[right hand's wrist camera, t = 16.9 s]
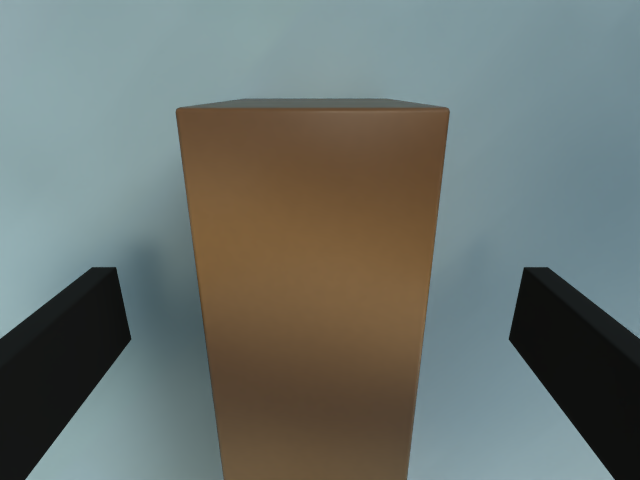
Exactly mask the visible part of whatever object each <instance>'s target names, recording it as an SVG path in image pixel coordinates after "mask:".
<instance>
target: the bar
mask: <svg viewBox="0 0 640 480" xmlns="http://www.w3.org/2000/svg"><path fill="white" fill-rule="evenodd" d="M449 114H450V111H449V109H448V108H446V107H440V106H433V105H426V104H419V103H412V102H405V101H398V100H391V99H240V100H232V101H225V102H217V103H210V104H202V105H195V106H187V107H180V108H177V109H176V119H177V126H178V134H179V142H180V149H181V157H182V165H183V172H184V180H185V187H186V195H187V203H188V210H189V218H190V226H191V233H192V241H193V249H194V256H195V264H196V272H197V279H198V287H199V294H200V302H201V310H202V317H203V325H204V333H205V340H206V348H207V356H208V363H209V371H210V379H211V386H212V394H213V401H214V409H215V417H216V424H217V432H218V440H219V447H220V455H221V463H222V470H223V478H224V480H407V474H408V466H409V457H410V449H411V440H412V431H413V423H414V414H415V406H416V397H417V389H418V380H419V371H420V363H421V354H422V346H423V337H424V329H425V320H426V311H427V303H428V294H429V286H430V277H431V268H432V260H433V251H434V243H435V234H436V226H437V217H438V208H439V200H440V191H441V183H442V174H443V166H444V157H445V148H446V140H447V131H448V123H449Z"/></svg>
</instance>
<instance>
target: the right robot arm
mask: <svg viewBox="0 0 640 480" xmlns="http://www.w3.org/2000/svg"><path fill="white" fill-rule="evenodd" d="M130 340H131V335H130V331H129V326H128V321H127V317H126V312H125V307H124V303H123V298H122V293H121V288H120V284H119V279H118V274H117V270H116V267H92V268H91V269H89V270H88V271H87V272H86V273H84V274H83V275H82V276H80V277H79V278H78V279H77V280H75V281H74V282H73V283H71V284H70V285H69V286H68V287H66V288H65V289H64V290H62V291H61V292H60V293H59V294H57V295H56V296H55V297H53V298H52V299H51V300H50V301H48V302H47V303H46V304H44V305H43V306H42V307H41V308H39V309H38V310H37V311H35V312H34V313H33V314H32V315H30V316H29V317H28V318H27V319H25V320H24V321H23V322H21V323H20V324H19V325H18V326H16V327H15V328H14V329H12V330H11V331H10V332H9V333H7V334H6V335H5V336H3V337H2V338H1V339H0V480H25V479H26V478H27V477H28V475H29V474H30V473H31V471H32V470H33V469H34V467H35V466H36V465H37V463H38V462H39V461H40V459H41V458H42V457H43V455H44V454H45V453H46V451H47V450H48V449H49V447H50V446H51V445H52V443H53V442H54V441H55V440H56V438H57V437H58V436H59V434H60V433H61V432H62V430H63V429H64V428H65V426H66V425H67V424H68V422H69V421H70V420H71V418H72V417H73V416H74V414H75V413H76V412H77V410H78V409H79V408H80V406H81V405H82V404H83V402H84V401H85V400H86V399H87V397H88V396H89V395H90V393H91V392H92V391H93V389H94V388H95V387H96V385H97V384H98V383H99V381H100V380H101V379H102V377H103V376H104V375H105V373H106V372H107V371H108V369H109V368H110V367H111V365H112V364H113V363H114V362H115V360H116V359H117V358H118V356H119V355H120V354H121V352H122V351H123V350H124V348H125V347H126V346H127V344H128V343H129V342H130ZM509 340H510V342H511V343H512V344H513V346H514V347H515V348H516V350H517V351H518V352H519V354H520V355H521V356H522V358H523V359H524V360H525V362H526V363H527V364H528V365H529V367H530V368H531V369H532V371H533V372H534V373H535V375H536V376H537V377H538V379H539V380H540V381H541V383H542V384H543V385H544V387H545V388H546V389H547V391H548V392H549V393H550V395H551V396H552V397H553V399H554V400H555V401H556V402H557V404H558V405H559V406H560V408H561V409H562V410H563V412H564V413H565V414H566V416H567V417H568V418H569V420H570V421H571V422H572V424H573V425H574V426H575V428H576V429H577V430H578V432H579V433H580V434H581V436H582V437H583V438H584V440H585V441H586V442H587V443H588V445H589V446H590V447H591V449H592V450H593V451H594V453H595V454H596V455H597V457H598V458H599V459H600V461H601V462H602V463H603V465H604V466H605V467H606V469H607V470H608V471H609V473H610V474H611V475H612V477H613V478H614V479H615V480H640V339H639V338H638V337H637V336H635V335H634V334H633V333H631V332H630V331H629V330H628V329H626V328H625V327H624V326H622V325H621V324H620V323H619V322H617V321H616V320H615V319H613V318H612V317H611V316H610V315H608V314H607V313H606V312H605V311H603V310H602V309H601V308H599V307H598V306H597V305H596V304H594V303H593V302H592V301H590V300H589V299H588V298H587V297H585V296H584V295H583V294H581V293H580V292H579V291H578V290H576V289H575V288H574V287H572V286H571V285H570V284H569V283H567V282H566V281H565V280H563V279H562V278H561V277H560V276H558V275H557V274H556V273H554V272H553V271H552V270H551V269H549V268H548V267H524V270H523V274H522V279H521V284H520V288H519V293H518V298H517V303H516V307H515V312H514V317H513V321H512V326H511V331H510V335H509Z"/></svg>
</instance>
